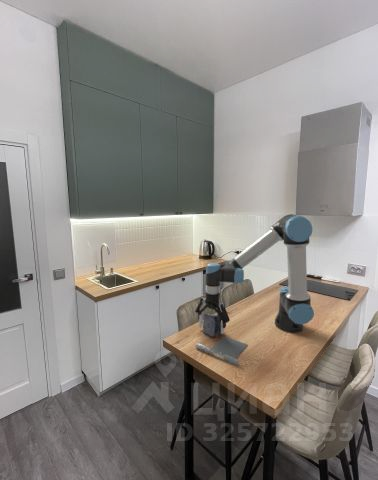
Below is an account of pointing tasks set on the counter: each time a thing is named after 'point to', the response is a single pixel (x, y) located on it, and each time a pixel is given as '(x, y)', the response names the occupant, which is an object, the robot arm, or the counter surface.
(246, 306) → the counter surface
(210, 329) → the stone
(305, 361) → the counter surface
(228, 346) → the mat
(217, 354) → the rail
